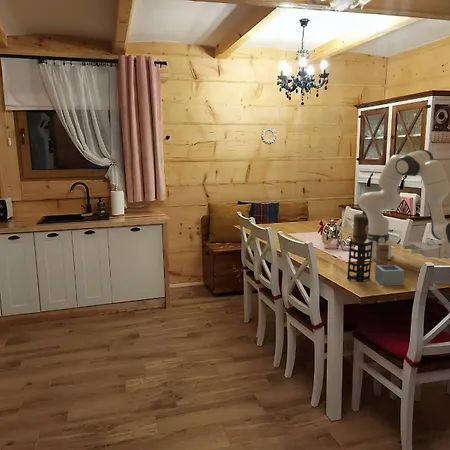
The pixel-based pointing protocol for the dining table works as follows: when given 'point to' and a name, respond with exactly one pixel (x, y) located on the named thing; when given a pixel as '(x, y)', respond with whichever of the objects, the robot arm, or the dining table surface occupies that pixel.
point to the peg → (382, 254)
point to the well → (389, 275)
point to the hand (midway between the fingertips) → (407, 249)
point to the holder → (359, 261)
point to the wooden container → (360, 227)
